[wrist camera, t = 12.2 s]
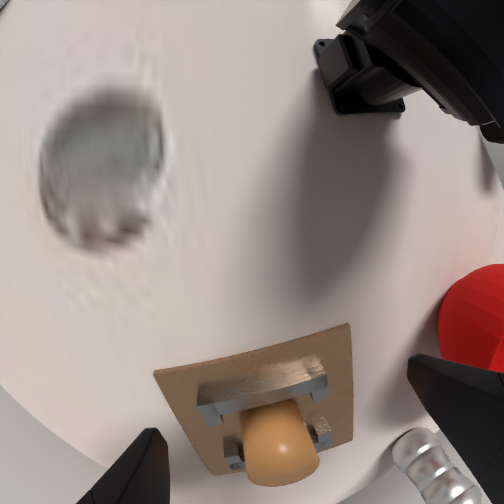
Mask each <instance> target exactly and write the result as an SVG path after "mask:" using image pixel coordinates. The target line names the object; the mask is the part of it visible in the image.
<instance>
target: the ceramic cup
mask: <svg viewBox="0 0 504 504" xmlns="http://www.w3.org/2000/svg"><path fill="white" fill-rule="evenodd" d="M437 327H438V340H439V346H440V352H441V356H442V359H444V360H448V361H452V362H456V363H460V364H465V365H469V366H473V367H478V368H482V369H487V370H492V371H496V372H501V373H504V264H493V265H488V266H485V267H482V268H479V269H477V270H475V271H473V272H471V273H470V274H468V275H467V276H465V277H464V278H462V279H460V280H458V281H457V282H456V283H455V284H454V285H452V287H451V288H450V289H449V290H448V292H447V293H446V295H445V297H444V299H443V301H442V303H441V306H440V309H439V312H438V318H437Z"/></svg>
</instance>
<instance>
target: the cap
mask: <svg viewBox="0 0 504 504" xmlns="http://www.w3.org/2000/svg"><path fill="white" fill-rule="evenodd" d="M240 427H241V434H242V442H243V449H244V456H245V463H246V470H247V476H248V478H249V480H250V481H251V482H253V483H255V484H257V485H261V486H269V487H274V486H284V485H288V484H292V483H295V482H298V481H300V480H302V479H304V478H306V477H308V476H309V475H311V474H312V473H313V472H314V471H315V470H316V469H317V468H318V466H319V463H320V460H319V457H318V455H317V452H316V450H315V447H314V445H313V442H312V440H311V437H310V435H309V432H308V430H307V427H306V424H305V422H304V419H303V417H302V414H301V412H300V410H299V408H298V407H297V406H296V405H295V404H293V403H291V402H289V401H285V400H283V401H279V402H276V403H272V404H268V405H264V406H260V407H255V408H251V409H248V410H247V411H246V412H245V413H244V414H243V416H242V417H241V420H240Z"/></svg>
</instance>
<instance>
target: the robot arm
mask: <svg viewBox="0 0 504 504" xmlns="http://www.w3.org/2000/svg"><path fill="white" fill-rule="evenodd" d="M336 26H337V27H339V28H340V29H342V30H346V31H345V32H344V33H343V34H338V36H337V37H336V38H335V39H318V40H317V41H316V42H315V44H314V46H315V49H316V52H317V55H318V59H317V61H318V64H319V67H320V70H321V74H322V77H323V80H324V83H325V87H326V88H327V89H328V90H329V93H330V96H331V100H332V103H333V107H334V110H335V112H336V113H337V114H338V115H341V116H344V115H359V114H386V113H402V112H404V111H405V105H404V101H403V98H402V97H404V96H407V95H409V94H412V93H414V92H417V91H419V90H421V89H423V90H424V91H425V92H426V93H427V94H428V95H429V96H430V97H431V98H432V99H433V100H434V101H435V102H436V103H437V104H438V105H439V108H440V109H441V110H442V111H443V112H444V113H446V114H452V115H453V116H454V117H455V118H457V119H460V120H462V121H467V122H468V124H469V125H471V126H474V125H484V124H488V123H491V122H494V121H495V122H496V123H497V125H498V126H499V127H503V126H504V0H352V1H351V3H350V4H349V6H348V7H347V9H346V10H345V12H344V13H343V15H342V16H341V18H340V19H339V21H338V22H337V24H336ZM319 44H322V45H323V47H322V46H320V45H319ZM398 105H399V106H400V109H399V107H398ZM339 106H341V107H343V111H341V110H340V108H339ZM407 378H408V381H409V382H410V384H411V386H412V387H413V389H414V391H415V392H416V394H417V396H418V397H419V399H420V401H421V403H422V404H423V406H424V408H425V409H426V411H427V412H428V413H429V415H430V416H431V417H432V419H433V420H434V421H435V423H436V424H437V425H438V427H439V428H440V429H441V431H442V432H443V433H444V434H445V436H446V437H447V439H448V440H449V442H450V443H451V444H452V446H453V447H454V448H455V450H456V451H457V453H458V454H459V455H460V456H461V458H462V459H463V461H464V462H465V464H466V465H467V467H468V468H469V469H470V471H471V472H472V474H473V475H474V477H475V478H476V480H477V482H478V483H479V484H480V486H481V487H482V489H483V490H484V492H485V493H486V495H487V496H488V498H489V499H490V501H491V503H492V504H504V373H501V372H496V371H492V370H487V369H482V368H478V367H473V366H469V365H465V364H460V363H456V362H452V361H448V360H444V359H440V358H436V357H432V356H428V355H424V354H420V353H418V354H415V355H413V356H411V357H410V358H409V360H408V368H407ZM76 504H170V471H169V458H168V445H167V442H166V440H165V439H164V438H163V436H162V435H161V433H160V432H159V430H158V429H157V428H145V429H144V430H143V431H142V432H141V433H140V435H139V436H138V437H137V438H136V439H135V440H134V441H133V442H132V444H131V445H130V446H129V447H128V448H127V449H126V450H125V452H124V453H123V454H122V455H121V456H120V457H119V458H118V459H117V460H116V462H115V463H114V464H113V465H112V466H111V467H110V468H109V469H108V470H107V472H106V473H105V474H104V475H103V476H102V477H101V478H100V479H99V480H98V481H97V482H96V483H95V485H94V486H93V487H92V488H91V490H89V491H88V492H87V493H86V494H85V495H84V496H83V497H82V498H81V499H80V500H79V501H78V502H77V503H76Z"/></svg>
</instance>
